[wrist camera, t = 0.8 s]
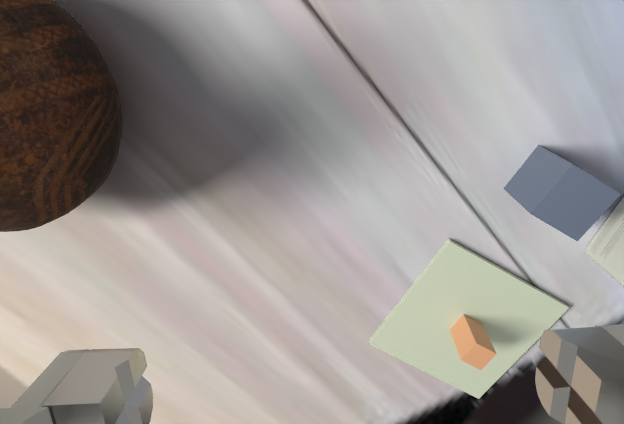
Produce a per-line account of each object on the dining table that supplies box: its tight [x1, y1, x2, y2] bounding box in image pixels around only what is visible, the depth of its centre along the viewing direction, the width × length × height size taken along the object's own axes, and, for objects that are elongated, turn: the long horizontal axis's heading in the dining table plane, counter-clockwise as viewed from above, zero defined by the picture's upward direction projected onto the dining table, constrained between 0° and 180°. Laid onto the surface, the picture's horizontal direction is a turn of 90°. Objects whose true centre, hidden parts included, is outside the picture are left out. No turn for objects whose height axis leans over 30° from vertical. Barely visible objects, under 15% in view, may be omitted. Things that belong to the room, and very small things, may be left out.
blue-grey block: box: [504, 145, 621, 241], centre depth 39 cm, size 5×5×7 cm
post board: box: [369, 238, 569, 399], centre depth 47 cm, size 16×16×6 cm
